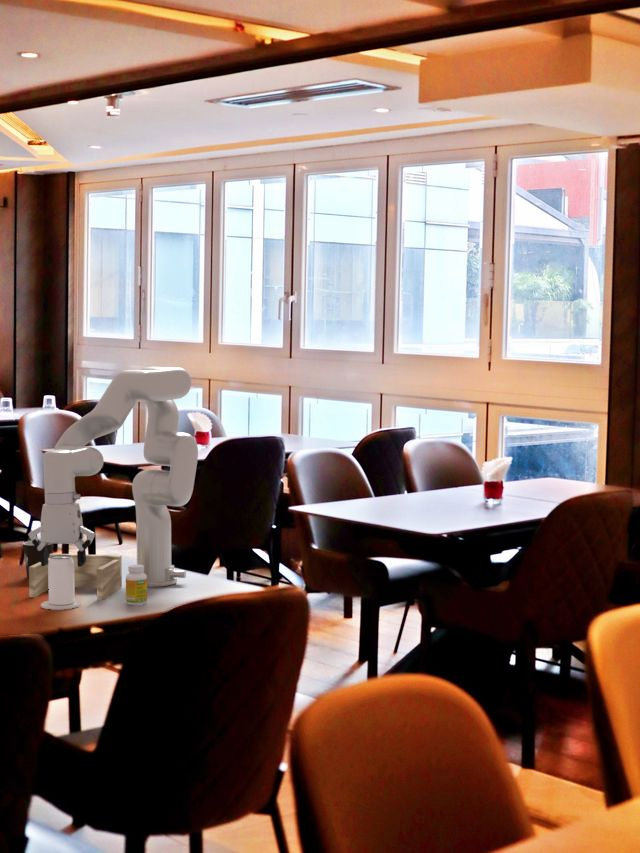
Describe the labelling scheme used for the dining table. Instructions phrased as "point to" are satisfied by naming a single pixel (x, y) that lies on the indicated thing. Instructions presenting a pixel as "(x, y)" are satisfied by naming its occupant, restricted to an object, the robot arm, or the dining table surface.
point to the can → (61, 580)
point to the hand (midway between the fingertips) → (62, 565)
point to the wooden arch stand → (83, 575)
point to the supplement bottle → (136, 585)
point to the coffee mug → (33, 554)
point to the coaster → (48, 606)
